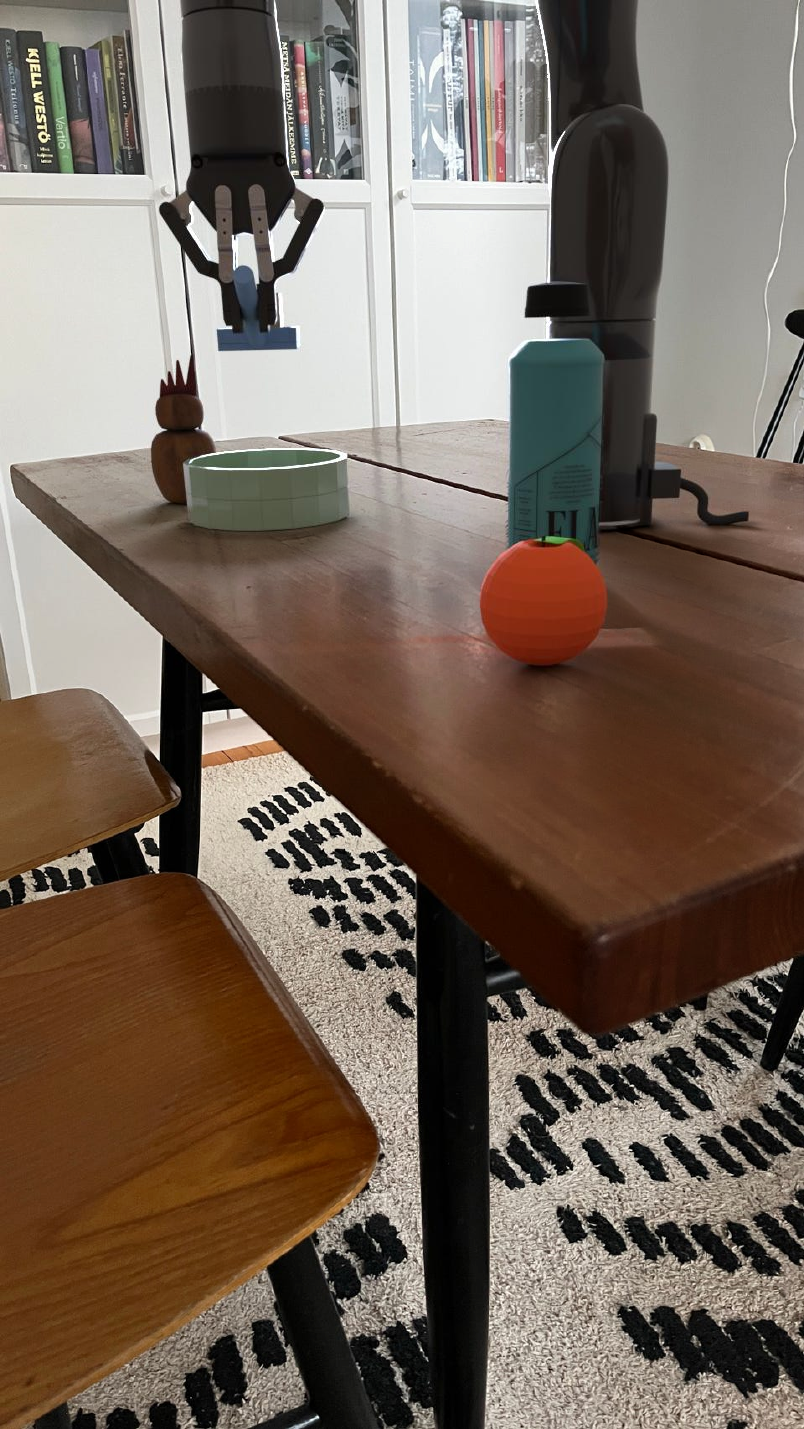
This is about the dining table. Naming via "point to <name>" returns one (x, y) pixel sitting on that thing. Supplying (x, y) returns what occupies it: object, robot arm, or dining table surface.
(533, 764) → the dining table surface
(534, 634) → the clementine
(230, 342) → the frame with upright peg
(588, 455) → the beverage bottle
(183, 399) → the wooden figurine
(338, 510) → the mint green round tray
